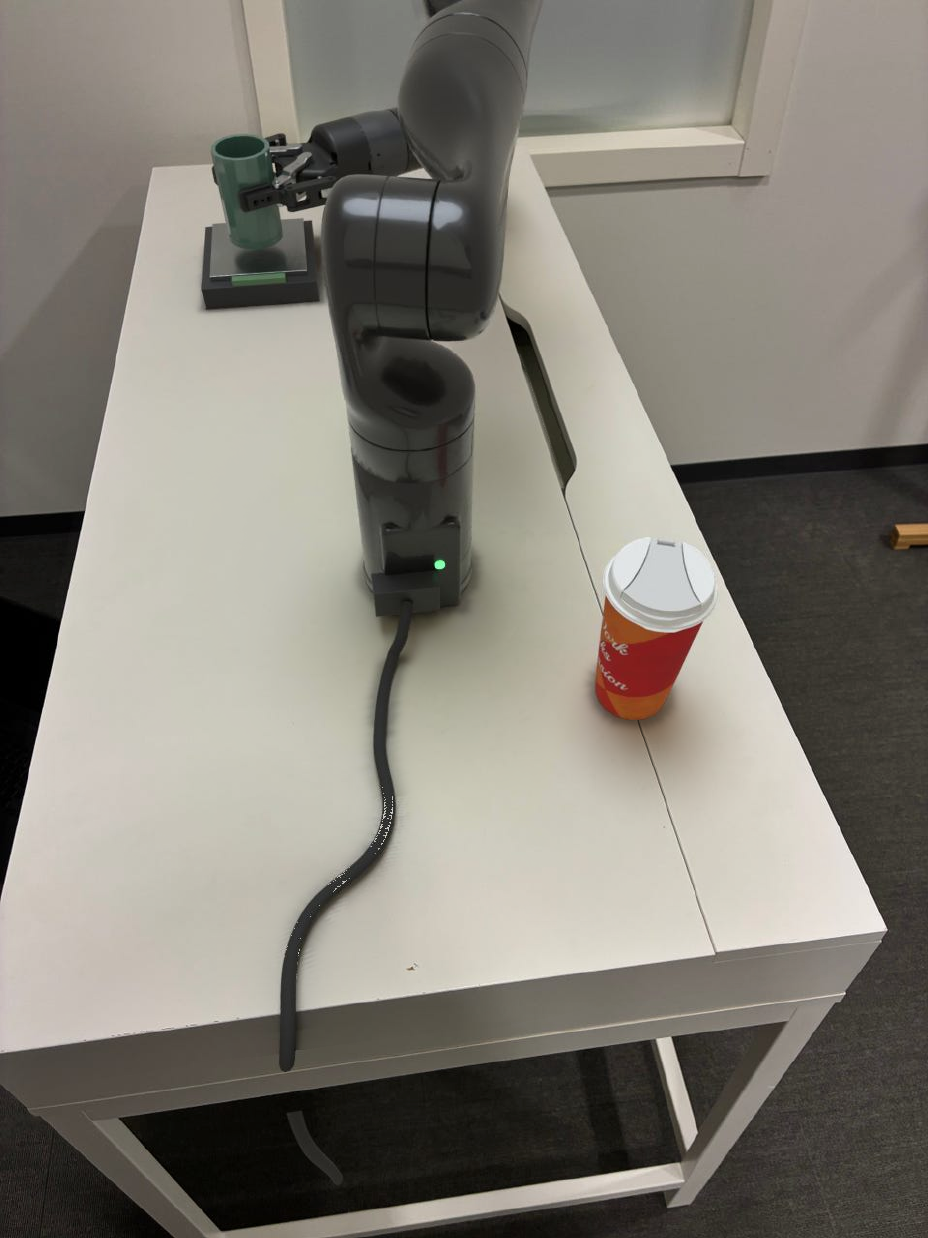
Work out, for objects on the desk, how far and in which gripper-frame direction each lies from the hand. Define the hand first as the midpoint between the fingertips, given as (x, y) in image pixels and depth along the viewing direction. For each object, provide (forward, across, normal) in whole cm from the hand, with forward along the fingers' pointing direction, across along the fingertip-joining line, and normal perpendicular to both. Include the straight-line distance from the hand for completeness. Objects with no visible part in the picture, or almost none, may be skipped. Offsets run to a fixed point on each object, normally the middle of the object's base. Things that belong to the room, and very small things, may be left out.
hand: (227, 189), depth 97 cm
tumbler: (-2, 0, +6) cm, 6 cm away
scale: (-2, 0, +11) cm, 11 cm away
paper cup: (0, +71, +11) cm, 72 cm away
